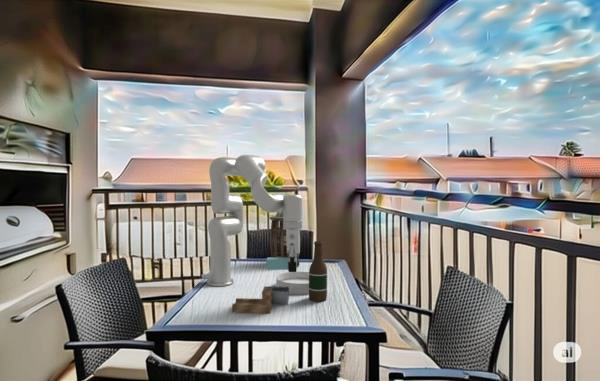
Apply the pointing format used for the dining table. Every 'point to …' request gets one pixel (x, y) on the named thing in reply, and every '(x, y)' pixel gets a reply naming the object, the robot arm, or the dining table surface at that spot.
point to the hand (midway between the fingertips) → (292, 269)
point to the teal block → (277, 263)
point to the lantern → (281, 238)
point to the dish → (294, 282)
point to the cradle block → (280, 295)
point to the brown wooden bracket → (254, 303)
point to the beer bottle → (318, 275)
